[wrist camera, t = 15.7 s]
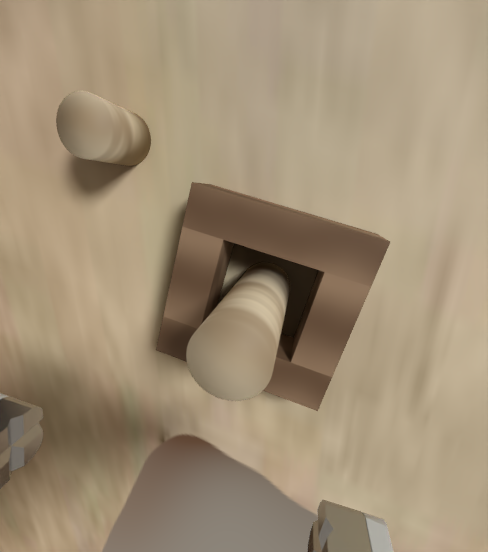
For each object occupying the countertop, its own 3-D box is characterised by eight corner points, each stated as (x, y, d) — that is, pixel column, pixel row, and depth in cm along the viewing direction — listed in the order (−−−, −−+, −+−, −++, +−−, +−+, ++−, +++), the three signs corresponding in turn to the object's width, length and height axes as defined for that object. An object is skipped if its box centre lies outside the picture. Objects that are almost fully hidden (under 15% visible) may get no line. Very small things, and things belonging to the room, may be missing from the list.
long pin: (272, 318, 26) (242, 416, 14) (232, 291, 26) (171, 368, 14) (300, 280, 24) (291, 354, 13) (257, 252, 24) (212, 302, 13)
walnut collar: (316, 379, 26) (317, 410, 22) (177, 328, 28) (155, 350, 24) (376, 233, 22) (390, 241, 19) (210, 184, 24) (191, 182, 20)
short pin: (146, 171, 25) (107, 166, 20) (102, 158, 25) (53, 150, 20) (154, 118, 24) (115, 99, 19) (108, 105, 24) (59, 83, 19)
